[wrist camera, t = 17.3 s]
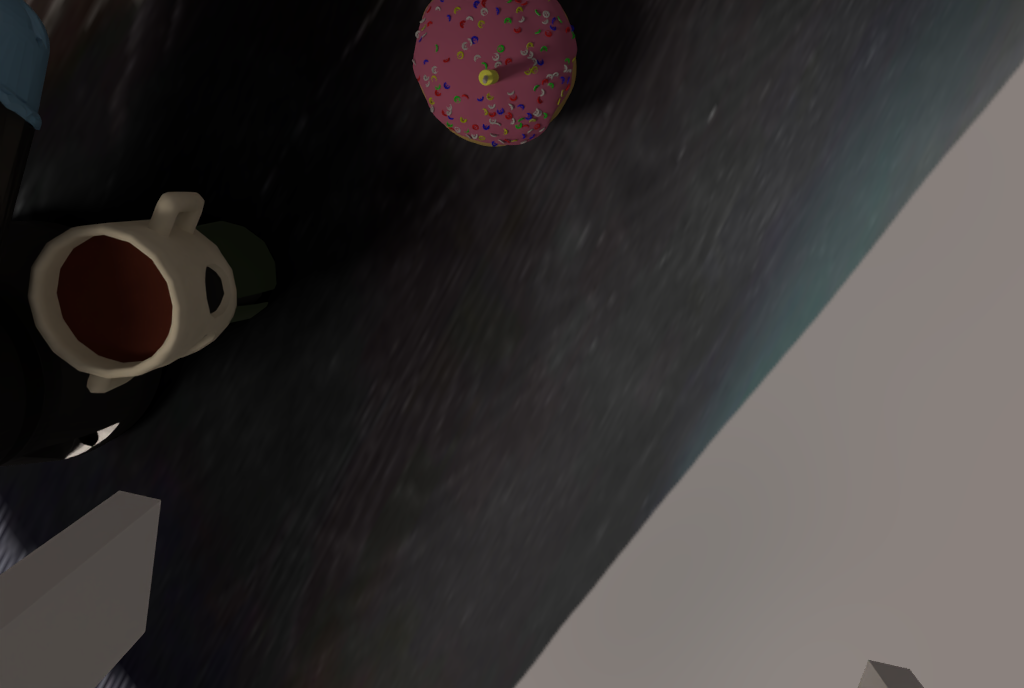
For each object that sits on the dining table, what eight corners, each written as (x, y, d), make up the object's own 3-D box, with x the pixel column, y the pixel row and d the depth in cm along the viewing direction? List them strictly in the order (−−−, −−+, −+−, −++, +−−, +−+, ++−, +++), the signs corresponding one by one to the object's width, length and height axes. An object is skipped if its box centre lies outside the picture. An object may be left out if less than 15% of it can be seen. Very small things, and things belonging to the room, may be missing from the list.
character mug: (249, 371, 45) (134, 442, 32) (147, 320, 45) (-9, 371, 32) (317, 219, 43) (223, 231, 30) (211, 164, 42) (70, 153, 30)
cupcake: (575, 147, 41) (587, 130, 30) (432, 155, 42) (389, 140, 30) (570, -10, 40) (583, -95, 28) (422, -1, 40) (371, -80, 28)
